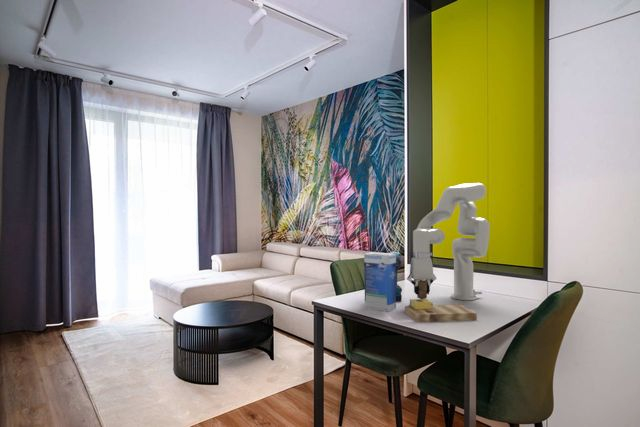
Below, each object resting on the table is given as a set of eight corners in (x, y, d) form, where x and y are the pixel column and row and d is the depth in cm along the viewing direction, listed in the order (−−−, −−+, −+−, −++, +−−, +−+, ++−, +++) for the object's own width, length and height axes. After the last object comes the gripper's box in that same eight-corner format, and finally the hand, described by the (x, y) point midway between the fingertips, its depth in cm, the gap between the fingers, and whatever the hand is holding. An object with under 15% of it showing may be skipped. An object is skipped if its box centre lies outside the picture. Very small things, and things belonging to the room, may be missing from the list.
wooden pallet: (459, 310, 164) (459, 304, 164) (477, 320, 150) (477, 313, 150) (404, 312, 161) (404, 305, 161) (417, 322, 147) (417, 315, 147)
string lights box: (396, 309, 166) (396, 253, 166) (389, 312, 160) (389, 255, 160) (371, 304, 175) (371, 251, 175) (363, 308, 169) (363, 253, 169)
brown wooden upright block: (424, 301, 173) (424, 279, 173) (428, 303, 168) (428, 281, 168) (415, 301, 172) (415, 280, 172) (419, 304, 168) (419, 281, 168)
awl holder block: (425, 305, 174) (425, 298, 174) (432, 309, 166) (432, 302, 166) (409, 305, 173) (409, 299, 173) (416, 309, 166) (416, 303, 166)
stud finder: (426, 305, 161) (426, 298, 161) (431, 308, 156) (431, 301, 156) (411, 306, 160) (411, 299, 160) (415, 309, 155) (415, 301, 155)
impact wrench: (398, 295, 196) (399, 249, 196) (404, 305, 173) (404, 253, 173) (384, 294, 197) (384, 248, 196) (388, 305, 174) (388, 253, 174)
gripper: (435, 253, 175) (435, 291, 175) (401, 255, 173) (402, 292, 173) (442, 255, 167) (442, 295, 168) (407, 257, 165) (407, 296, 166)
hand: (421, 293), depth 170 cm, fingers closed on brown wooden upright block, 4 cm apart
